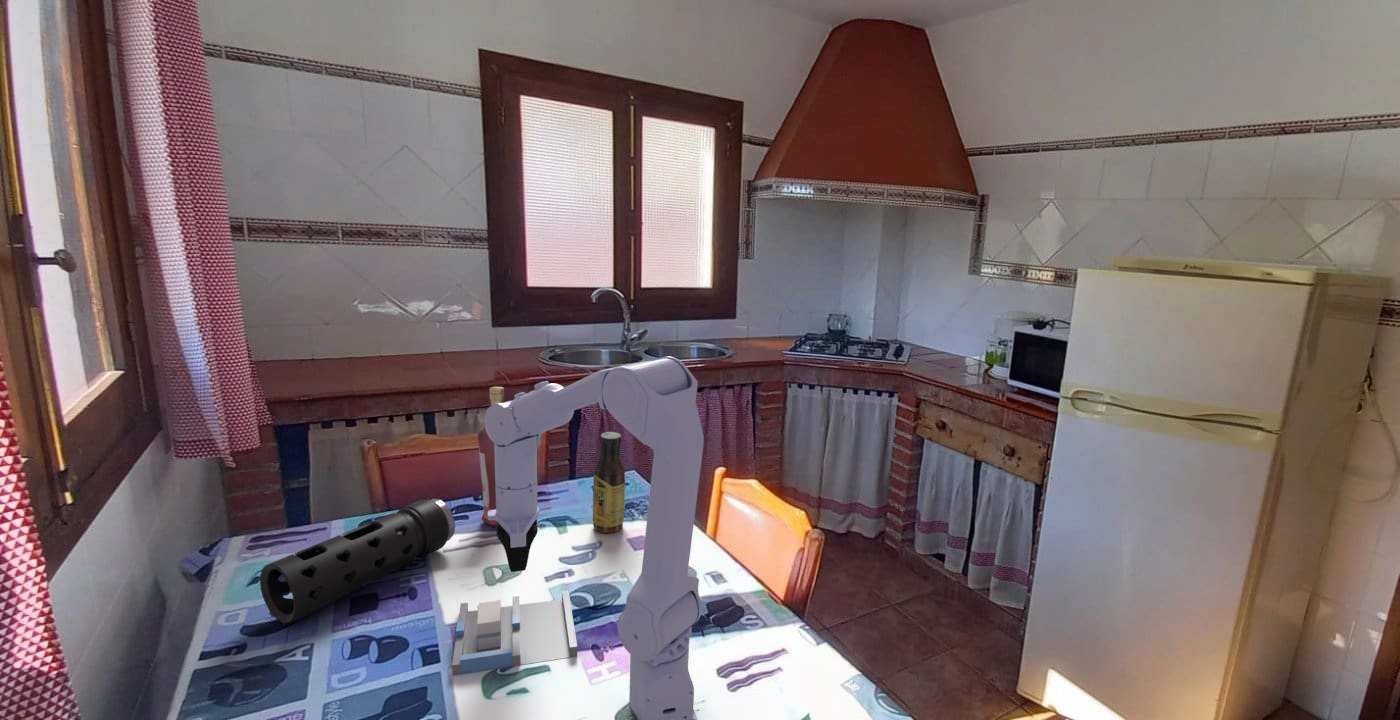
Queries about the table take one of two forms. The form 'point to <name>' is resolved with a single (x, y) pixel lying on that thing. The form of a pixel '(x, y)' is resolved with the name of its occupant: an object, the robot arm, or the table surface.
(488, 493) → the liquor
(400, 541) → the muzzle brake
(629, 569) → the table surface
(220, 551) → the table surface
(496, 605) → the beige rectangular box
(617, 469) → the sauce bottle
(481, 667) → the board
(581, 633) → the table surface
